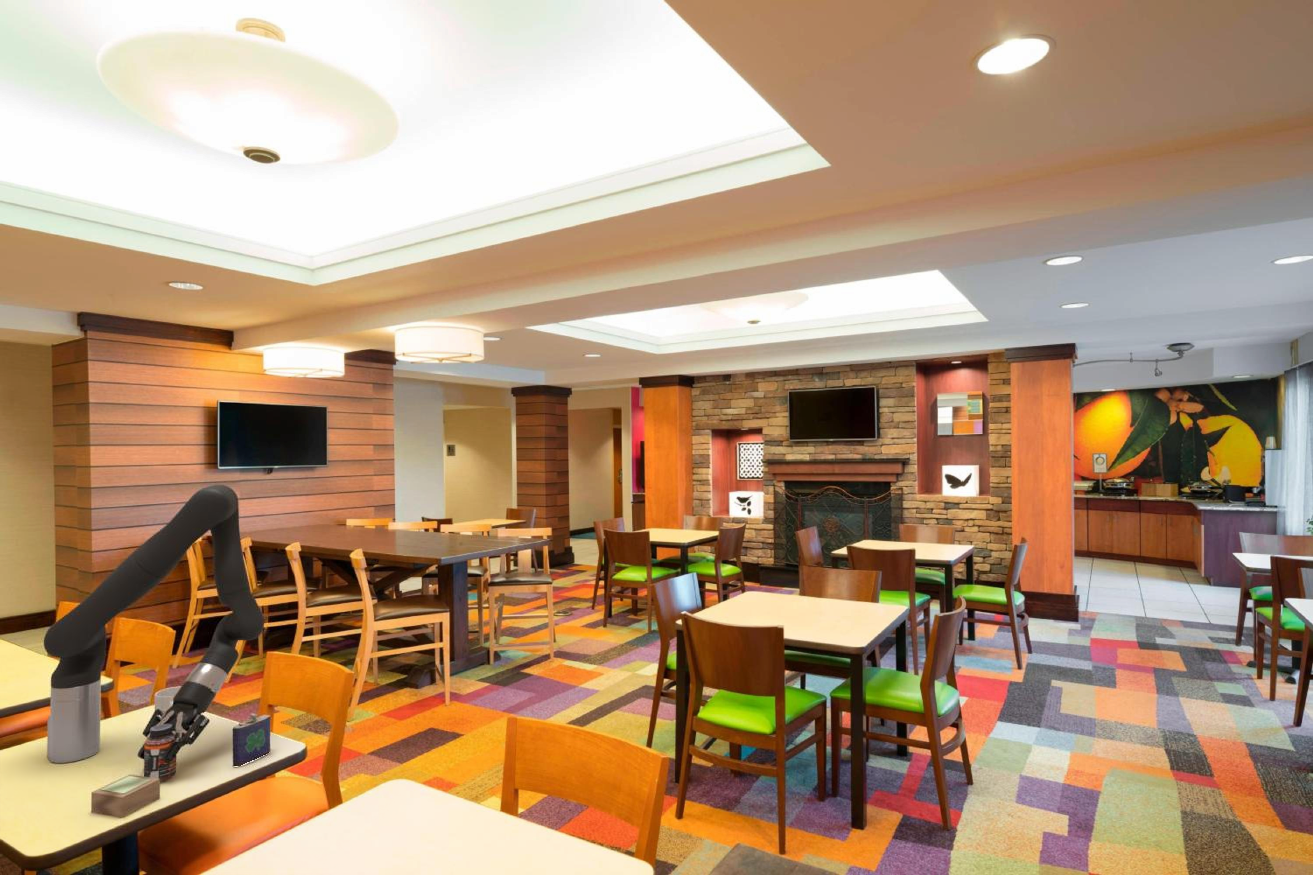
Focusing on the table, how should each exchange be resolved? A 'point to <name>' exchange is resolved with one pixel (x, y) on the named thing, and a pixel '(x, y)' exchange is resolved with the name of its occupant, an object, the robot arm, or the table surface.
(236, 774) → the table surface
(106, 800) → the block
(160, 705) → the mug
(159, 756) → the supplement bottle
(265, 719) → the flask
